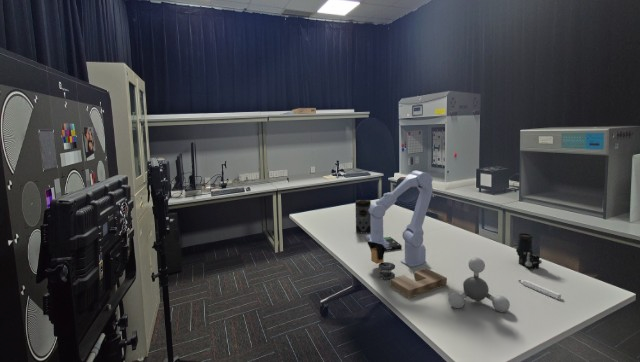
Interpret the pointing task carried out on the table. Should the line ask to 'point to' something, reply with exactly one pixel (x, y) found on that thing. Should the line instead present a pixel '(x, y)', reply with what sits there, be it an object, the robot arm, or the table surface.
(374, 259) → the orange rectangular block
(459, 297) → the molecule model
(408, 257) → the robot arm
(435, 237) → the table surface
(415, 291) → the notched board
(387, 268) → the bobbin
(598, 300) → the table surface
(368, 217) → the electronic device
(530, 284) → the marker
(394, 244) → the disk drive
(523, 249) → the scope
